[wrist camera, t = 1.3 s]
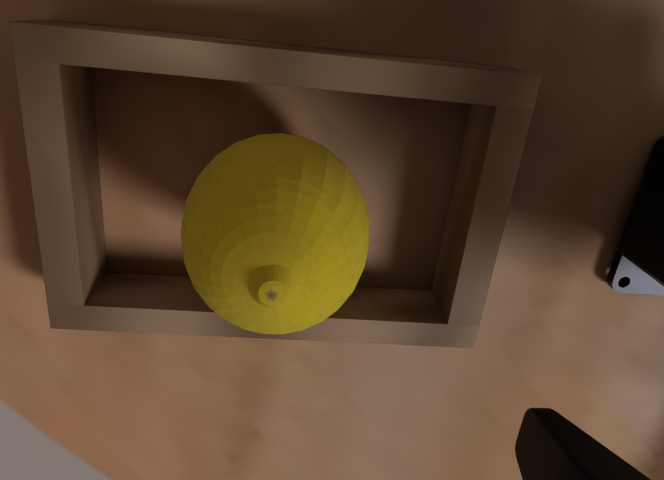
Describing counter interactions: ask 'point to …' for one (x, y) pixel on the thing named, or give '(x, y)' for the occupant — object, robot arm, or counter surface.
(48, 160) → the holder frame
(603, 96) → the counter surface
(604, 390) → the counter surface
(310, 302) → the lemon
